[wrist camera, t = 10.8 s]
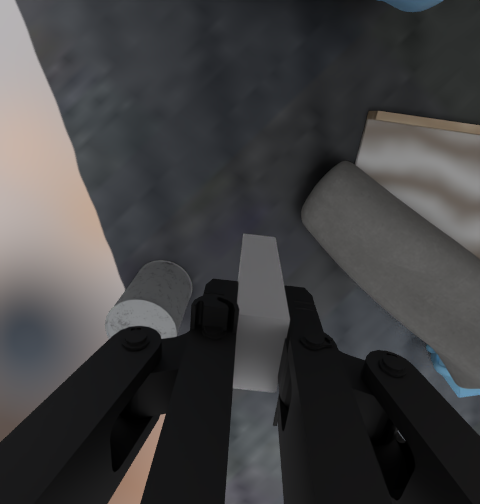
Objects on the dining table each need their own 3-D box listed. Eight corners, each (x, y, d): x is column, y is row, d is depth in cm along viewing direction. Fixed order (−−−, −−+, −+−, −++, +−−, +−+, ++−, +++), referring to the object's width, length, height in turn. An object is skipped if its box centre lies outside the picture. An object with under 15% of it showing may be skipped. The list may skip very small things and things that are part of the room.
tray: (368, 111, 43) (379, 110, 40) (606, 145, 44) (638, 148, 40) (334, 243, 51) (340, 253, 47) (538, 271, 51) (560, 283, 48)
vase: (309, 180, 35) (533, 402, 31) (374, 129, 40) (578, 316, 35) (277, 228, 46) (437, 395, 42) (330, 183, 51) (480, 330, 46)
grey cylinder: (164, 248, 52) (140, 286, 41) (204, 290, 55) (191, 336, 43) (123, 281, 54) (90, 325, 43) (163, 320, 57) (141, 370, 46)
